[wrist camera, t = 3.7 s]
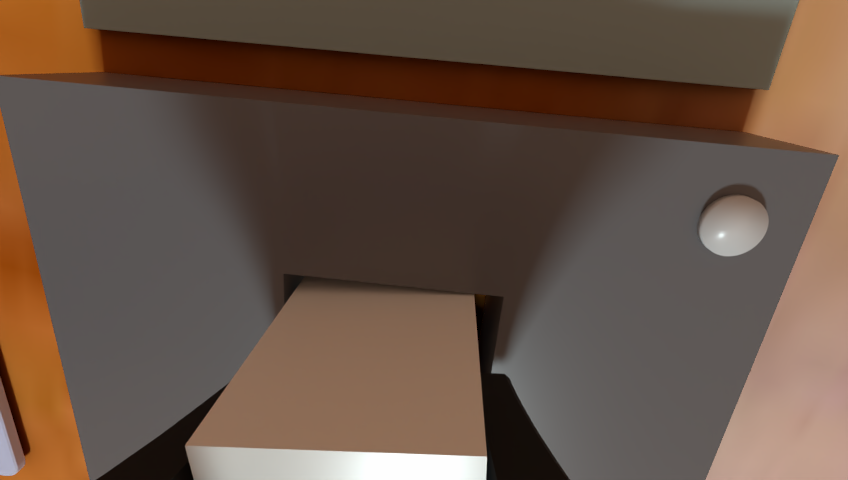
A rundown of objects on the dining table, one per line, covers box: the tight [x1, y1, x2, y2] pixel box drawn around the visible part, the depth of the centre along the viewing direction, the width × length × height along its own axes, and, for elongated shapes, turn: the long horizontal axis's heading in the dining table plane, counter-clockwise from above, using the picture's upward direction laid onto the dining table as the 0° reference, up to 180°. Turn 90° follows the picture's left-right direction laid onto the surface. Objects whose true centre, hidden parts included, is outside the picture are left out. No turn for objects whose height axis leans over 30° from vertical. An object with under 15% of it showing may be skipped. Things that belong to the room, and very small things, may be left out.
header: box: [0, 72, 839, 480], centre depth 12 cm, size 16×12×3 cm
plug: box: [185, 276, 487, 480], centre depth 10 cm, size 4×4×7 cm
